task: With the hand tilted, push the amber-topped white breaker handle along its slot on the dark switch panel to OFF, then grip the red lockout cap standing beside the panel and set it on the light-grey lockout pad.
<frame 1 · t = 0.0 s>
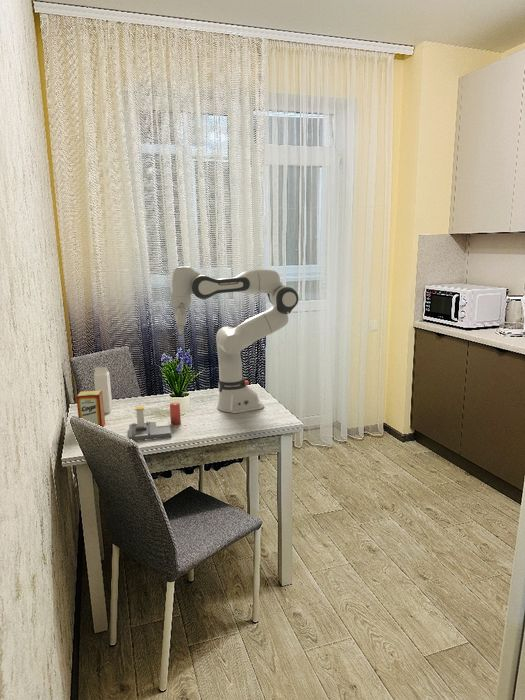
hand: (179, 332, 228), 39 cm above the table, tool pointing down, fingers open, 8 cm apart
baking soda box: (92, 427, 219), on the table
lockout cap: (175, 423, 222), on the table
breaker A: (140, 417, 210), point 7 cm above the table, slide at 0.0 cm
panel: (150, 432, 211), on the table
milk: (105, 411, 239), on the table
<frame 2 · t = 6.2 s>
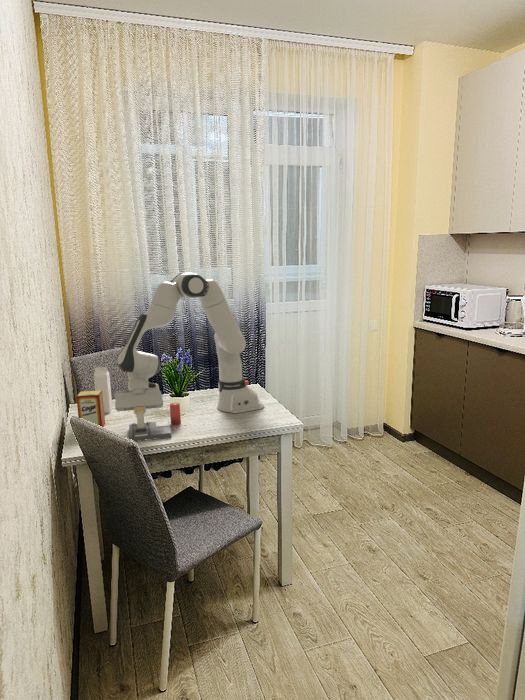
hand: (140, 417, 211), 6 cm above the table, tool tilted 45°, fingers closed, pressing on breaker A
breaker A: (140, 418, 209), point 7 cm above the table, slide at 1.3 cm, touching gripper
everything else where it was.
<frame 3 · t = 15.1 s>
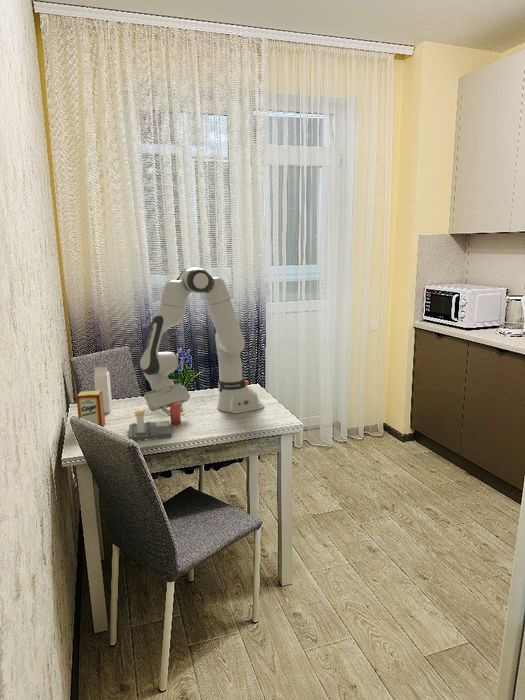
hand: (176, 413, 220), 5 cm above the table, tool tilted 45°, fingers closed on lockout cap, 4 cm apart
lockout cap: (175, 423, 222), on the table, touching gripper
breaker A: (140, 422, 204), point 7 cm above the table, slide at 6.6 cm
everything else where it was.
when the fingers open (8 cm above the table, at t = 19.0 s): lockout cap drops 1 cm, resting on panel.
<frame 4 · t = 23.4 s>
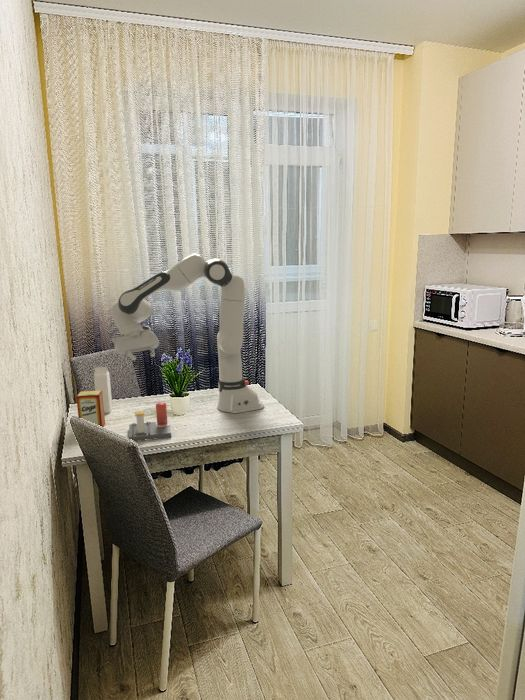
hand: (144, 357, 220), 29 cm above the table, tool tilted 45°, fingers open, 8 cm apart
lockout cap: (162, 423, 215), point 2 cm above the table, touching panel
everything else where it was.
at the end: breaker A slide at 6.6 cm; lockout cap inside the target area (0.0 cm from its centre), point 2.3 cm above the table; lockout cap tilted 0° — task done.
